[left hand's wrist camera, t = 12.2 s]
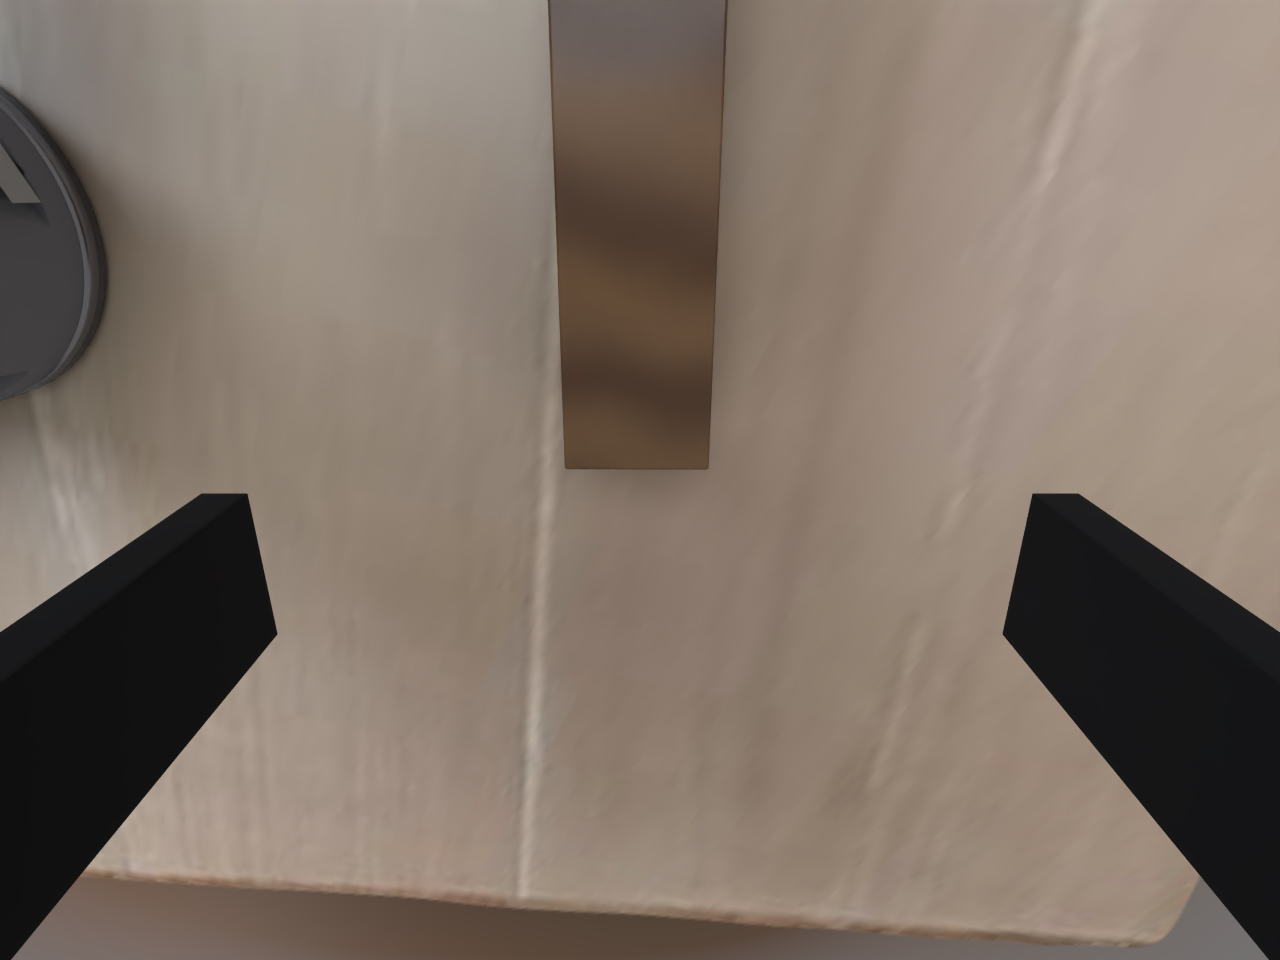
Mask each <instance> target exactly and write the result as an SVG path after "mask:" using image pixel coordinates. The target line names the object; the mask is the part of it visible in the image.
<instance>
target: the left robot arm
mask: <svg viewBox="0 0 1280 960" xmlns="http://www.w3.org/2000/svg"><path fill="white" fill-rule="evenodd" d="M105 286H106V270H105V259H104V251H103V246H102V240H101V236H100V232H99V228H98V225H97V221H96V218H95V215H94V213H93V210H92V207H91V205H90V202H89V200H88V197H87V195H86V193H85V191H84V189H83V187H82V185H81V183H80V181H79V179H78V177H77V176H76V174H75V172H74V170H73V168H72V167H71V165H70V163H69V162H68V160H67V159H66V157H65V156H64V155H63V153H62V152H61V150H60V149H59V147H58V146H57V145H56V143H55V142H54V141H53V139H52V138H51V137H50V136H49V134H48V133H47V132H46V131H45V130H44V128H43V127H42V126H41V125H40V124H39V123H38V122H37V121H36V120H35V118H34V117H33V116H32V115H31V114H30V113H29V112H28V111H27V110H26V109H25V108H23V107H22V106H21V105H20V104H19V103H18V102H17V101H16V100H15V99H14V98H13V97H11V96H10V95H9V94H8V93H6V92H5V91H4V90H3V89H2V88H0V400H4V399H7V398H10V397H13V396H16V395H19V394H23V393H26V392H28V391H31V390H34V389H37V388H39V387H41V386H43V385H45V384H47V383H49V382H51V381H53V380H54V379H56V378H57V377H59V376H60V375H62V374H63V373H64V372H65V371H66V370H68V369H69V368H70V367H71V366H72V365H73V364H74V363H75V362H76V361H77V360H78V358H79V357H80V356H81V355H82V353H83V352H84V351H85V349H86V348H87V346H88V345H89V343H90V341H91V339H92V337H93V335H94V333H95V331H96V328H97V325H98V323H99V320H100V317H101V312H102V308H103V304H104V296H105ZM276 635H277V630H276V625H275V620H274V616H273V611H272V606H271V602H270V597H269V592H268V588H267V583H266V578H265V574H264V569H263V564H262V560H261V555H260V550H259V546H258V541H257V536H256V532H255V527H254V522H253V517H252V513H251V508H250V503H249V499H248V494H200V495H199V496H197V497H196V498H194V499H193V500H192V501H190V502H189V503H187V504H186V505H184V506H183V507H181V508H180V509H179V510H177V511H176V512H174V513H173V514H171V515H170V516H168V517H167V518H165V519H164V520H163V521H161V522H160V523H158V524H157V525H155V526H154V527H152V528H151V529H150V530H148V531H147V532H145V533H144V534H142V535H141V536H139V537H138V538H136V539H135V540H134V541H132V542H131V543H129V544H128V545H126V546H125V547H123V548H122V549H120V550H119V551H118V552H116V553H115V554H113V555H112V556H110V557H109V558H107V559H106V560H105V561H103V562H102V563H100V564H99V565H97V566H96V567H94V568H93V569H91V570H90V571H89V572H87V573H86V574H84V575H83V576H81V577H80V578H78V579H77V580H76V581H74V582H73V583H71V584H70V585H68V586H67V587H65V588H64V589H62V590H61V591H60V592H58V593H57V594H55V595H54V596H52V597H51V598H49V599H48V600H46V601H45V602H44V603H42V604H41V605H39V606H38V607H36V608H35V609H33V610H32V611H31V612H29V613H28V614H26V615H25V616H23V617H22V618H20V619H19V620H17V621H16V622H15V623H13V624H12V625H10V626H9V627H7V628H6V629H4V630H3V631H2V632H0V960H11V959H12V958H13V957H14V955H15V954H16V953H17V952H18V951H19V949H20V948H21V947H22V946H23V944H24V943H25V942H26V941H27V940H28V938H29V937H30V936H31V935H32V933H33V932H34V931H35V930H36V928H37V927H38V926H39V925H40V924H41V922H42V921H43V920H44V919H45V917H46V916H47V915H48V914H49V913H50V911H51V910H52V909H53V908H54V907H55V905H56V904H57V903H58V902H59V900H60V899H61V898H62V897H63V895H64V894H65V893H66V892H67V891H68V889H69V888H70V887H71V886H72V885H73V883H74V882H75V881H76V880H77V878H78V877H79V876H80V875H81V874H82V872H83V871H84V870H85V869H86V867H87V866H88V865H89V864H90V863H91V861H92V860H93V859H94V858H95V856H96V855H97V854H98V853H99V852H100V850H101V849H102V848H103V847H104V845H105V844H106V843H107V842H108V841H109V839H110V838H111V837H112V836H113V834H114V833H115V832H116V831H117V830H118V828H119V827H120V826H121V825H122V824H123V822H124V821H125V820H126V819H127V817H128V816H129V815H130V814H131V813H132V811H133V810H134V809H135V808H136V806H137V805H138V804H139V803H140V802H141V800H142V799H143V798H144V797H145V795H146V794H147V793H148V792H149V791H150V789H151V788H152V787H153V786H154V784H155V783H156V782H157V781H158V780H159V778H160V777H161V776H162V775H163V773H164V772H165V771H166V770H167V769H168V767H169V766H170V765H171V764H172V762H173V761H174V760H175V759H176V758H177V756H178V755H179V754H180V753H181V751H182V750H183V749H184V748H185V747H186V745H187V744H188V743H189V742H190V740H191V739H192V738H193V737H194V736H195V734H196V733H197V732H198V731H199V729H200V728H201V727H202V726H203V725H204V723H205V722H206V721H207V720H208V718H209V717H210V716H211V715H212V714H213V712H214V711H215V710H216V709H217V707H218V706H219V705H220V704H221V703H222V701H223V700H224V699H225V698H226V696H227V695H228V694H229V693H230V692H231V690H232V689H233V688H234V687H235V685H236V684H237V683H238V682H239V681H240V679H241V678H242V677H243V676H244V675H245V673H246V672H247V671H248V670H249V668H250V667H251V666H252V665H253V664H254V662H255V661H256V660H257V659H258V657H259V656H260V655H261V654H262V653H263V651H264V650H265V649H266V648H267V646H268V645H269V644H270V643H271V642H272V640H273V639H274V638H275V637H276ZM1003 635H1004V637H1005V638H1006V639H1007V640H1008V642H1009V643H1010V644H1011V645H1012V646H1013V648H1014V649H1015V650H1016V651H1017V653H1018V654H1019V655H1020V656H1021V657H1022V659H1023V660H1024V661H1025V662H1026V664H1027V665H1028V666H1029V667H1030V668H1031V670H1032V671H1033V672H1034V673H1035V675H1036V676H1037V677H1038V678H1039V679H1040V681H1041V682H1042V683H1043V684H1044V685H1045V687H1046V688H1047V689H1048V690H1049V692H1050V693H1051V694H1052V695H1053V696H1054V698H1055V699H1056V700H1057V701H1058V703H1059V704H1060V705H1061V706H1062V707H1063V709H1064V710H1065V711H1066V712H1067V714H1068V715H1069V716H1070V717H1071V718H1072V720H1073V721H1074V722H1075V723H1076V725H1077V726H1078V727H1079V728H1080V729H1081V731H1082V732H1083V733H1084V734H1085V736H1086V737H1087V738H1088V739H1089V740H1090V742H1091V743H1092V744H1093V745H1094V747H1095V748H1096V749H1097V750H1098V751H1099V753H1100V754H1101V755H1102V756H1103V758H1104V759H1105V760H1106V761H1107V762H1108V764H1109V765H1110V766H1111V767H1112V769H1113V770H1114V771H1115V772H1116V773H1117V775H1118V776H1119V777H1120V778H1121V780H1122V781H1123V782H1124V783H1125V784H1126V786H1127V787H1128V788H1129V789H1130V791H1131V792H1132V793H1133V794H1134V795H1135V797H1136V798H1137V799H1138V800H1139V802H1140V803H1141V804H1142V805H1143V806H1144V808H1145V809H1146V810H1147V811H1148V813H1149V814H1150V815H1151V816H1152V817H1153V819H1154V820H1155V821H1156V822H1157V824H1158V825H1159V826H1160V827H1161V828H1162V830H1163V831H1164V832H1165V833H1166V834H1167V836H1168V837H1169V838H1170V839H1171V841H1172V842H1173V843H1174V844H1175V845H1176V847H1177V848H1178V849H1179V850H1180V852H1181V853H1182V854H1183V855H1184V856H1185V858H1186V859H1187V860H1188V861H1189V863H1190V864H1191V865H1192V866H1193V867H1194V869H1195V870H1196V871H1197V872H1198V874H1199V875H1200V876H1201V877H1202V878H1203V880H1204V881H1205V882H1206V883H1207V884H1208V886H1209V887H1210V888H1211V889H1212V891H1213V892H1214V893H1215V894H1216V896H1217V897H1218V898H1219V899H1220V900H1221V902H1222V903H1223V904H1224V905H1225V907H1226V908H1227V909H1228V910H1229V911H1230V913H1231V914H1232V915H1233V916H1234V918H1235V919H1236V920H1237V921H1238V922H1239V924H1240V925H1241V926H1242V927H1243V929H1244V930H1245V931H1246V932H1247V933H1248V935H1249V936H1250V937H1251V938H1252V939H1253V941H1254V942H1255V943H1256V944H1257V946H1258V947H1259V948H1260V949H1261V951H1262V952H1263V953H1264V954H1265V955H1266V957H1267V958H1268V959H1269V960H1280V632H1278V631H1277V630H1276V629H1274V628H1273V627H1271V626H1270V625H1268V624H1267V623H1265V622H1264V621H1263V620H1261V619H1260V618H1258V617H1257V616H1255V615H1254V614H1252V613H1251V612H1249V611H1248V610H1247V609H1245V608H1244V607H1242V606H1241V605H1239V604H1238V603H1236V602H1235V601H1234V600H1232V599H1231V598H1229V597H1228V596H1226V595H1225V594H1223V593H1222V592H1220V591H1219V590H1218V589H1216V588H1215V587H1213V586H1212V585H1210V584H1209V583H1207V582H1206V581H1204V580H1203V579H1202V578H1200V577H1199V576H1197V575H1196V574H1194V573H1193V572H1191V571H1190V570H1189V569H1187V568H1186V567H1184V566H1183V565H1181V564H1180V563H1178V562H1177V561H1175V560H1174V559H1173V558H1171V557H1170V556H1168V555H1167V554H1165V553H1164V552H1162V551H1161V550H1160V549H1158V548H1157V547H1155V546H1154V545H1152V544H1151V543H1149V542H1148V541H1146V540H1145V539H1144V538H1142V537H1141V536H1139V535H1138V534H1136V533H1135V532H1133V531H1132V530H1130V529H1129V528H1128V527H1126V526H1125V525H1123V524H1122V523H1120V522H1119V521H1117V520H1116V519H1115V518H1113V517H1112V516H1110V515H1109V514H1107V513H1106V512H1104V511H1103V510H1101V509H1100V508H1099V507H1097V506H1096V505H1094V504H1093V503H1091V502H1090V501H1088V500H1087V499H1086V498H1084V497H1083V496H1081V495H1080V494H1032V499H1031V503H1030V508H1029V513H1028V517H1027V522H1026V527H1025V531H1024V536H1023V541H1022V546H1021V550H1020V555H1019V560H1018V564H1017V569H1016V574H1015V578H1014V583H1013V588H1012V592H1011V597H1010V602H1009V606H1008V611H1007V616H1006V620H1005V625H1004V630H1003Z"/></svg>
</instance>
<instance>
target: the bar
mask: <svg viewBox="0 0 1280 960" xmlns="http://www.w3.org/2000/svg"><path fill="white" fill-rule="evenodd" d="M727 4H728V0H548V16H549V43H550V71H551V98H552V126H553V154H554V181H555V209H556V236H557V264H558V291H559V319H560V347H561V374H562V402H563V429H564V457H565V468H566V469H702V470H706V469H708V467H709V444H710V420H711V396H712V371H713V347H714V322H715V298H716V273H717V249H718V224H719V200H720V175H721V151H722V127H723V102H724V78H725V53H726V29H727Z"/></svg>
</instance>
